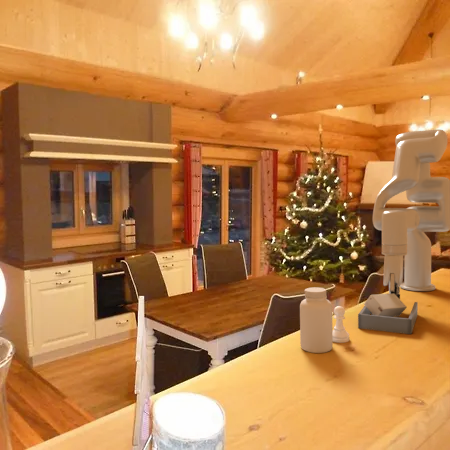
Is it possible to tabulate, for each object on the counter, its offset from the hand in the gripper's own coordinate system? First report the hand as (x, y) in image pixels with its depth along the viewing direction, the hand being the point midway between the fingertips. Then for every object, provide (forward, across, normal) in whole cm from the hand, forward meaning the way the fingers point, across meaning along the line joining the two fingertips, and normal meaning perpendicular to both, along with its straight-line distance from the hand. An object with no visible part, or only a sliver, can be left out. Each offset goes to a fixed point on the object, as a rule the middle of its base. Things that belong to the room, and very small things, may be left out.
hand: (394, 306), depth 144 cm
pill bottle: (+2, +42, -14) cm, 44 cm away
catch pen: (+2, +12, 0) cm, 12 cm away
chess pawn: (+2, +33, -10) cm, 35 cm away
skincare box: (-2, +4, +2) cm, 4 cm away
